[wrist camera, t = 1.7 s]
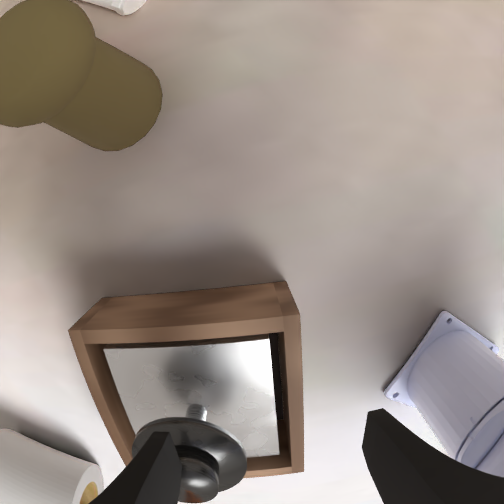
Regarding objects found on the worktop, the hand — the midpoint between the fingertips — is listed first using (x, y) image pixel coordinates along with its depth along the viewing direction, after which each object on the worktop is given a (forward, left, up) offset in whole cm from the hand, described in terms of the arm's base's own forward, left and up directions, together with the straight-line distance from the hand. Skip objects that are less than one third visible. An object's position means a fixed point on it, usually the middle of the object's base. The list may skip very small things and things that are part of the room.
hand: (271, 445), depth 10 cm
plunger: (+1, +5, -8) cm, 9 cm away
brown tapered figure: (+14, -8, -11) cm, 20 cm away
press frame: (+1, +5, -10) cm, 12 cm away
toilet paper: (+9, +25, -11) cm, 29 cm away
